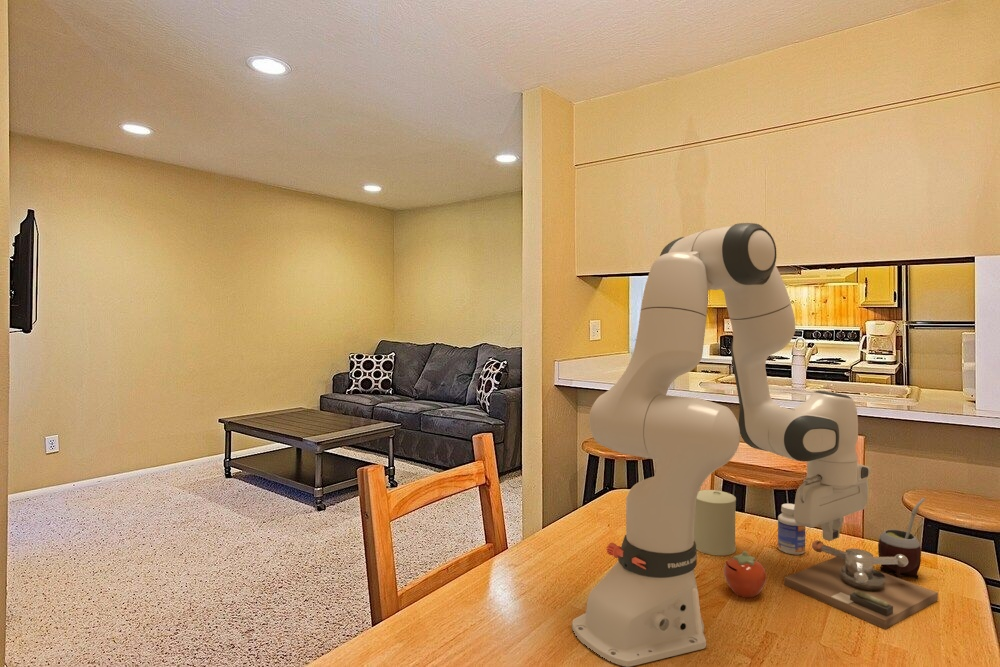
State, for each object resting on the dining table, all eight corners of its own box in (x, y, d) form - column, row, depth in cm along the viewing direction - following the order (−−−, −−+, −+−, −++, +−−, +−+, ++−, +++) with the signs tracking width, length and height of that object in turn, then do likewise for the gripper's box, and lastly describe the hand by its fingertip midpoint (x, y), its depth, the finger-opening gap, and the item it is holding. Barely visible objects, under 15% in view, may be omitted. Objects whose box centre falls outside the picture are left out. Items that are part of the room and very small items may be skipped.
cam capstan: (863, 606, 100) (864, 574, 100) (788, 574, 112) (788, 546, 112) (910, 583, 108) (910, 553, 108) (835, 556, 120) (835, 529, 120)
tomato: (716, 584, 112) (716, 543, 112) (753, 582, 113) (753, 542, 113) (735, 604, 105) (735, 560, 104) (774, 601, 106) (775, 558, 105)
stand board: (884, 629, 96) (885, 608, 96) (783, 585, 112) (784, 567, 111) (937, 600, 105) (938, 581, 105) (837, 563, 121) (838, 546, 121)
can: (739, 544, 131) (740, 491, 130) (731, 559, 123) (731, 503, 123) (697, 535, 136) (697, 485, 135) (687, 550, 128) (687, 496, 128)
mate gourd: (876, 575, 115) (877, 501, 114) (879, 561, 121) (881, 490, 121) (922, 586, 111) (924, 508, 110) (923, 571, 117) (925, 497, 116)
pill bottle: (802, 557, 124) (803, 512, 123) (775, 551, 127) (775, 507, 126) (807, 548, 128) (807, 505, 128) (780, 543, 131) (781, 500, 131)
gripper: (816, 484, 109) (816, 556, 110) (875, 467, 119) (874, 533, 120) (785, 476, 114) (784, 545, 115) (843, 460, 125) (842, 523, 125)
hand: (830, 538), depth 117 cm, fingers closed
